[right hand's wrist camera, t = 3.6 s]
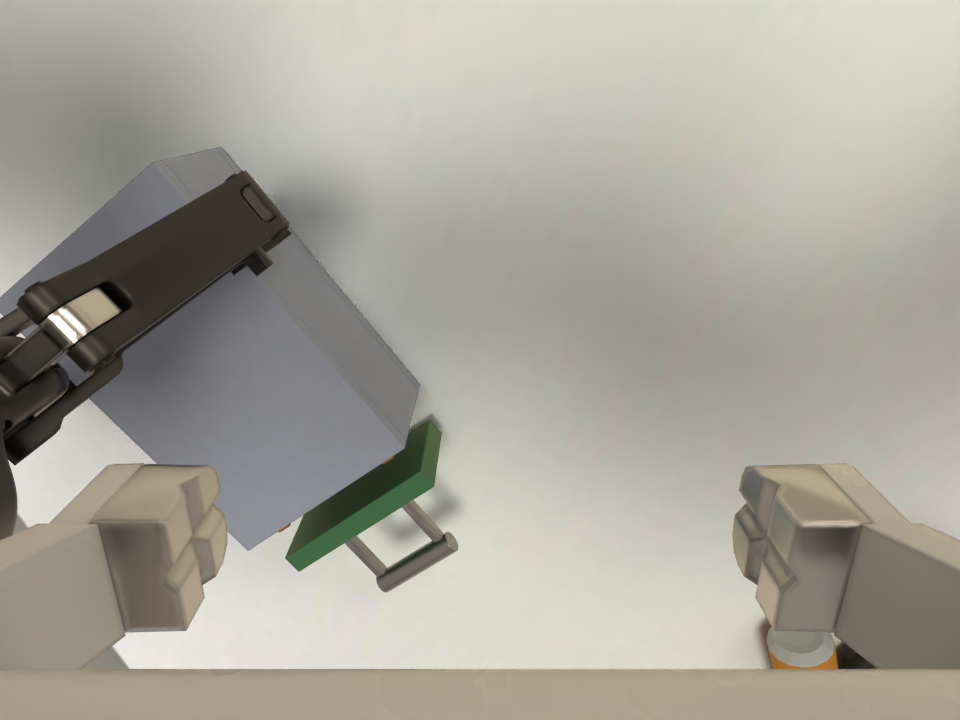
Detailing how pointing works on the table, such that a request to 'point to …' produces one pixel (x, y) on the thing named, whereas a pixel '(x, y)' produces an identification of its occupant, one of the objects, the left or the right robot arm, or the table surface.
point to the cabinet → (245, 366)
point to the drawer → (379, 513)
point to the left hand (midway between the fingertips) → (170, 294)
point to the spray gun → (807, 651)
